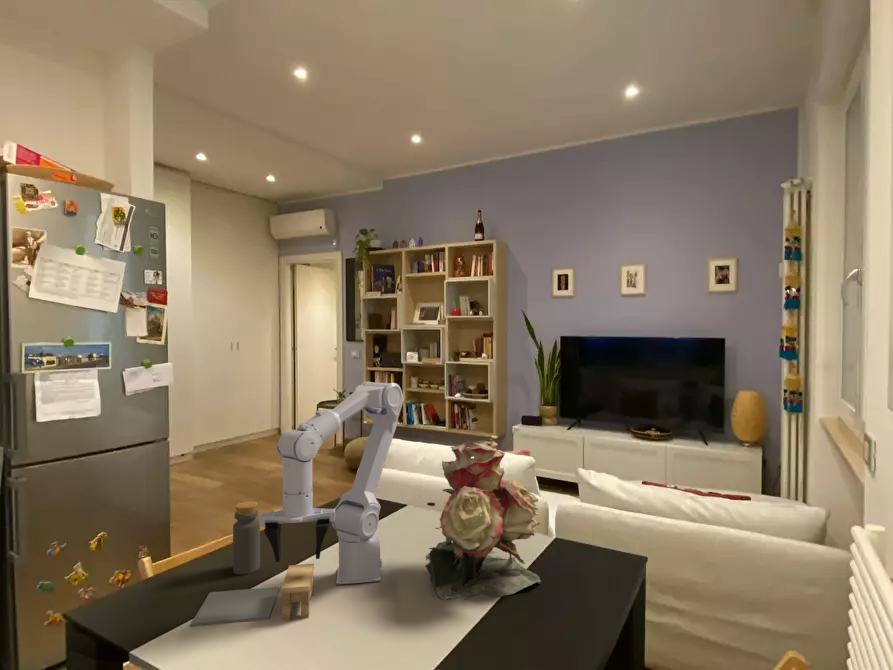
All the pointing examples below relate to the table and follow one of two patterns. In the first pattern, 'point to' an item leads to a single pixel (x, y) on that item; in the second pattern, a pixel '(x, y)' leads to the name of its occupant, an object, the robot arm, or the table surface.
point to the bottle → (246, 539)
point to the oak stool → (297, 589)
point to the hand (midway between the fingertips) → (298, 558)
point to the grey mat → (236, 606)
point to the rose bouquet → (481, 526)
